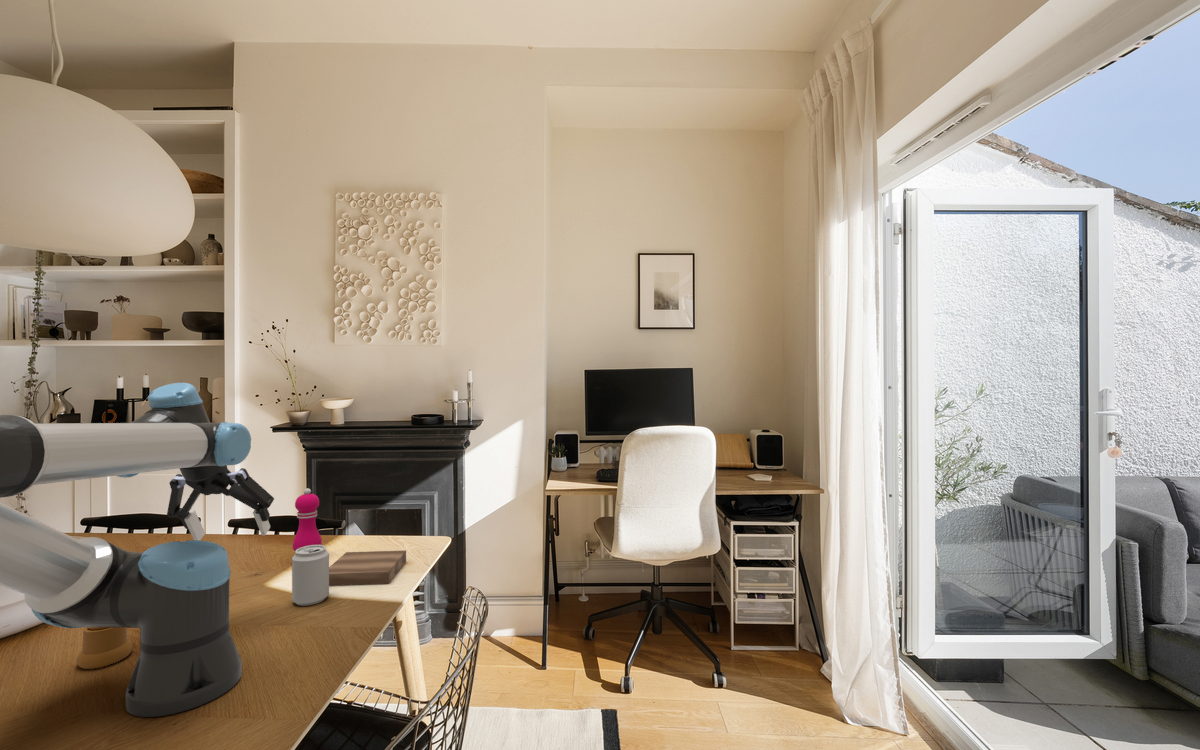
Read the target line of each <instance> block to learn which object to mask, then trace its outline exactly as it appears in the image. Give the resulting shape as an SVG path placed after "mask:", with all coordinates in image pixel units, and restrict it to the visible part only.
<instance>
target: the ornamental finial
mask: <svg viewBox="0 0 1200 750" xmlns="http://www.w3.org/2000/svg"><path fill="white" fill-rule="evenodd" d="M127 629H128V628H111V627H83V633H82V649H81V651H79V653H78V654H77V657H76V665H77V666H78V667H79V668H81V669H84V670H95V668H96V669H100V668H104V666H105V667H108V666H107V665H109V666H111V665H110V664H112V665H114V664H117V663H118V661H119V662H121V661H123V660H124V659H125V658H127V657H128V656H129V655H130V654H131V652H132V650H133V642H132V641H131V639H129V638H128V632H127ZM120 660H121V661H120ZM116 662H117V663H116ZM113 663H114V664H113Z"/></svg>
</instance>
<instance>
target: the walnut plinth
mask: <svg viewBox="0 0 1200 750" xmlns="http://www.w3.org/2000/svg"><path fill="white" fill-rule="evenodd" d="M405 561H406V562H407V550H406V549H405V550H376V551H371V550H370V551H347V552H345V553H344V554H342V555H341V556H340V557H339V558H337V560H336V561H335V562H334V563H332V564H331V565H329V587H336V586H340V587H341V586H366V585H367V586H368V585H371V586H373V585H389V584H390V583H391V581H393V579H394V578H395V576H396V575H397V574H398V572H399V571H400V570H401V569H402V567H403V566H404V565H405V563H406V562H405Z"/></svg>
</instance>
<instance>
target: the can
mask: <svg viewBox="0 0 1200 750" xmlns="http://www.w3.org/2000/svg"><path fill="white" fill-rule="evenodd" d="M326 549H327V547H326V546H325V545H324V544H322V545H310V546H305V547H301V548H299V549H297V550H296V551H294V553H295V554H294V555H293V556H292V557H291V601H292V602H293V603H294V604H295V605H297V606H301V607H302V606H303V607H306V606H312V605H315V604H319V603H321V602H324V601H325V599H326V598H327V597H328V596H329V594H330V586H329V567H330V552H329V551H328V550H326Z"/></svg>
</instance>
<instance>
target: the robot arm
mask: <svg viewBox="0 0 1200 750" xmlns="http://www.w3.org/2000/svg"><path fill="white" fill-rule="evenodd" d="M147 401H148V406H149V407H150V410H149V409H148V411H146V412H144V414H142V415H141V416H139V417H138V418H136V419H135V420H133V421H132V422H120V423H119V422H116V423H115V422H114V423H113V422H108V423H107V422H106V423H105V422H103V423H101V422H98V423H97V422H96V423H95V422H94V423H93V422H91V423H90V422H89V423H88V422H85V423H84V422H79V423H76V422H75V423H72V422H71V423H65V422H63V423H51V422H50V423H35V422H33V421H32V420H30V419H29V418H26V417H24V416H22V415H21V416H20V415H14V414H5V415H4V414H0V499H1V498H8V497H13V496H18V495H20V494H22V493H24V492H26V491H28V490H29V489H30V488H31V487H33V486H36V485H37V486H38V485H46V484H55V483H63V482H72V481H73V482H74V481H81V480H90V479H98V478H107V477H115V476H116V477H119V478H125V479H126V478H127V479H128V478H132V477H135V476H137V475H139V474H141V473H144V474H145V473H151V472H159V471H167V470H175V469H176V470H177V469H179V471H180V473H181V474H180V473H177V474H176V475H175V476H173V478H172V479H171V480H170V481H169V485H170V490H171V492H170V497H169V500H168V501H169V502H168V506H167V507H168V508H167V512H166V516H167V517H168V518H173V517H175V518H176V517H177V519H179V520H180V522H181V523H182V526H183V527H184V529H186V530H189V533H190V534H191V536H192V538H193V540H192V539H189V540H185V541H180V540H177V541H168V542H164V543H159V544H156V545H154V546H152V547H149V548H148V549H146V550H145V551H130V550H126V549H123V548H120V547H119V546H117V545H115V544H113V543H111V542H109V541H107V540H106V539H103V538H100V537H95V536H90V537H88V536H86V537H81V538H78V539H77V538H74V536H73V537H72V536H70V535H69V534H66V533H64V532H63V531H60V530H58V529H56V528H54V527H53V526H50V525H48V524H46V523H45V522H44V523H43V522H42V521H39V520H37V519H36V518H33V517H32V516H30V515H28V514H25V513H24V512H21V511H20V510H17V509H15V508H13V507H11V506H9V505H7V504H5V503H3V502H1V501H0V586H1V587H4V588H7V589H9V590H12V591H15V592H18V593H21V594H24V600H25V603H26V605H27V606H28V607H29V608H30V609H31V611H32V614H34V616H35V617H36V618H37V619H38V621H39V620H40V621H41V622H43V623H45V624H47V625H50V626H54V627H58V628H63V629H64V628H65V629H80V628H85V627H111V628H126V629H139V641H140V642H139V643H140V645H139V646H140V647H139V648H140V649H139V651H140V652H139V656H138V659H137V661H136V664H135V666H134V668H133V671H132V674H131V676H130V679H129V683H128V685H127V688H126V690H125V710H126V712H127V713H129V714H130V715H131V716H132V715H133V716H135V717H140V718H141V717H142V718H151V717H152V718H153V717H162V716H163V717H164V716H169V715H174V714H177V713H182V712H185V711H189V710H191V709H195V708H197V707H198V708H199V706H203V705H205V704H207V703H209V702H211V701H214V700H215V699H218V698H219V697H221V696H222V695H224V694H225V693H227V692H228V691H230V690H231V689H232V688H233V687H234V686H236V685H237V684H238V682H239V680H240V679H241V678H242V674H243V673H242V671H243V670H242V668H243V665H242V658H241V656H240V654H239V652H238V651H239V650H238V648H237V646H236V644H235V642H234V639H233V637H232V635H231V631H230V581H231V580H230V579H231V578H230V577H231V566H230V563H229V553H228V551H227V550H226V548H225V547H224V546H222V545H220V544H218V543H216V542H214V541H213V542H212V541H207V540H202V539H203V537H204V536H205V534H206V532H205V530H204V527H203V524H202V523H201V521H200V519H199V517H198V516H199V515H198V514H197V512H196V510H192V508H193V506H194V504H195V503H196V501H197V500H198V498H199V497H200V495H204V496H211V495H221V494H223V495H224V496H226V497H232V498H233V499H235V500H237V501H239V502H240V503H242V504H244V505H246V506H247V507H249V508H252V509H253V512H252V515H253V517H254V519H255V521H256V525H257V527H258V529H259V531H260V534H261V536H266V535H267V533H268V532H269V530H270V529H271V524H270V522H269V519H270V516H271V514H270V511H269V508H270V507H271V506H272V504H273V502H274V500H275V497H274V496H273V495H271V494H270V493H269V492H268V491H267V490H266V489H265V488H264V487H263V486H261V485H260V484H259V482H258V481H256V480H254V479H253V477H251V476H250V474H249V473H248V471H247V469H246V468H243V467H242V468H240V469H239V470H238V471H233V472H231V471H230V470H229V468H228V466H235V465H239V464H241V463H242V462H244V461H245V460H246V458H247V457H248V456H249V453H250V452H251V448H252V445H251V444H252V435H251V433H250V431H249V429H248V428H247V427H246V426H245V425H243V424H241V423H238V422H237V423H235V422H227V421H223V422H211V421H210V419H209V416H208V413H207V411H206V408H205V405H204V401H203V399H202V398H201V396H200V394H199V392H198V390H197V388H196V387H195V386H194V384H192V383H188V382H173V383H168V384H165V385H162V386H160V387H156V388H155V389H154V390H151V392H149V395H148V396H147ZM185 485H186V486H188V487H189V488H192V489H193V490H192V491H191V493H190V494H189V497H188V498H187V500H186V501H185V503H184V505H183V506H182V507H181V503H182V499H183V495H184V488H185ZM229 486H230V487H229ZM228 487H229V489H228Z"/></svg>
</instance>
